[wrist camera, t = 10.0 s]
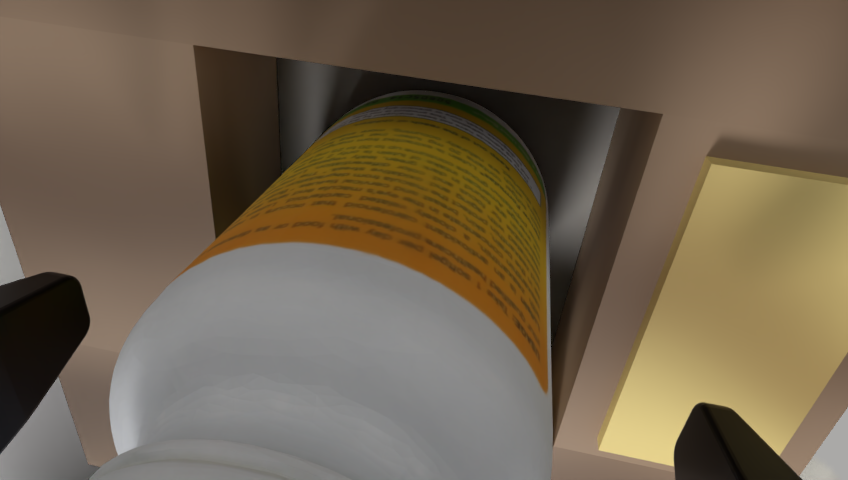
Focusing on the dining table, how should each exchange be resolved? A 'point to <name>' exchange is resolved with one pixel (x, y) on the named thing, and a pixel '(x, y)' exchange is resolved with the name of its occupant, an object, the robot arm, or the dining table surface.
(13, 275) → the dining table surface
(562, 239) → the dining table surface
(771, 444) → the socket block
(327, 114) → the dining table surface
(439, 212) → the supplement bottle
